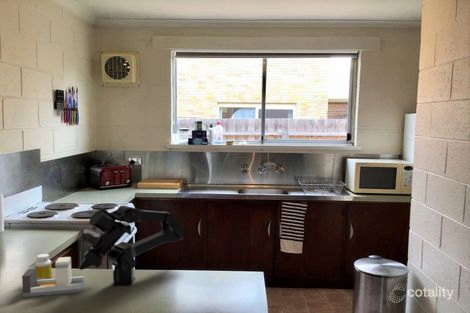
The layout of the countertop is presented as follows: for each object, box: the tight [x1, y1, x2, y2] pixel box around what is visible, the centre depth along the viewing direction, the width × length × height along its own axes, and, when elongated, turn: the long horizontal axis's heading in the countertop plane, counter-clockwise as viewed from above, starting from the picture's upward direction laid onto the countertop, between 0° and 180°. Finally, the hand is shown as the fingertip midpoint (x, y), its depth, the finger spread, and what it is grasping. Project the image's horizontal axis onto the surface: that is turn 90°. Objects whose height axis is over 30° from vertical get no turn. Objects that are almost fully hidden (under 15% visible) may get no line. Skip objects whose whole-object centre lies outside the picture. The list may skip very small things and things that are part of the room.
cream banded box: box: [54, 256, 73, 285], centre depth 136 cm, size 4×5×9 cm
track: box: [21, 267, 85, 298], centre depth 136 cm, size 18×8×7 cm, turn 101°
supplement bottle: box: [34, 253, 53, 280], centre depth 144 cm, size 5×5×10 cm
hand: (80, 268), depth 137 cm, fingers closed
